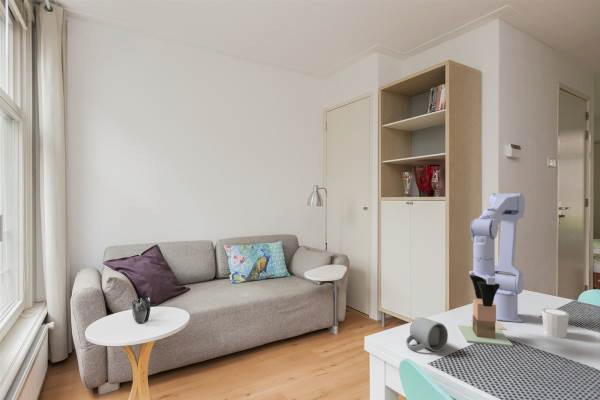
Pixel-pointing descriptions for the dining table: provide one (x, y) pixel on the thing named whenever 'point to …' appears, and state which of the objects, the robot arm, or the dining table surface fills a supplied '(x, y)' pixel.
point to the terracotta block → (484, 311)
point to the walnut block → (483, 328)
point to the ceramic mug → (427, 335)
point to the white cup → (555, 322)
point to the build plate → (472, 338)
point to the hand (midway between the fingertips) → (483, 302)
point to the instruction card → (498, 325)
